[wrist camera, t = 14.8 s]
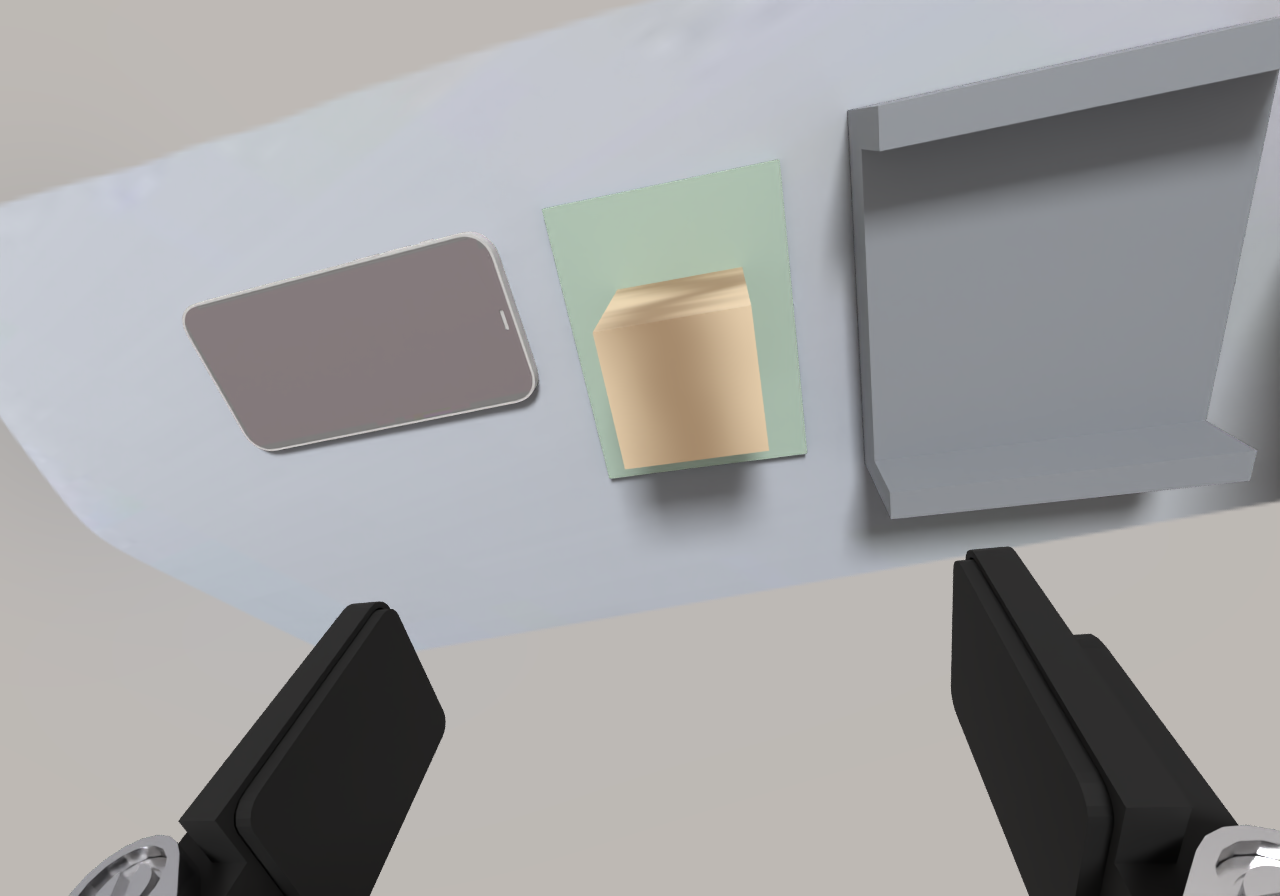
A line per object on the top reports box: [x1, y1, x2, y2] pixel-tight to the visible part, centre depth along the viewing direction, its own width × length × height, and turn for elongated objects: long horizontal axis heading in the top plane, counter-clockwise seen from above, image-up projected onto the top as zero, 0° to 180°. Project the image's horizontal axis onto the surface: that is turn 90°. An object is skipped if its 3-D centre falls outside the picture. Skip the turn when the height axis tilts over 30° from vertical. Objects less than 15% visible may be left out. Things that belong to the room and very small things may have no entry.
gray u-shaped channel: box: [848, 17, 1280, 519], centre depth 22 cm, size 12×14×4 cm
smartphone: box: [182, 232, 538, 451], centre depth 28 cm, size 7×1×15 cm
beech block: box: [593, 267, 769, 469], centre depth 23 cm, size 5×5×6 cm
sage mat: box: [542, 159, 807, 479], centre depth 26 cm, size 9×12×1 cm
